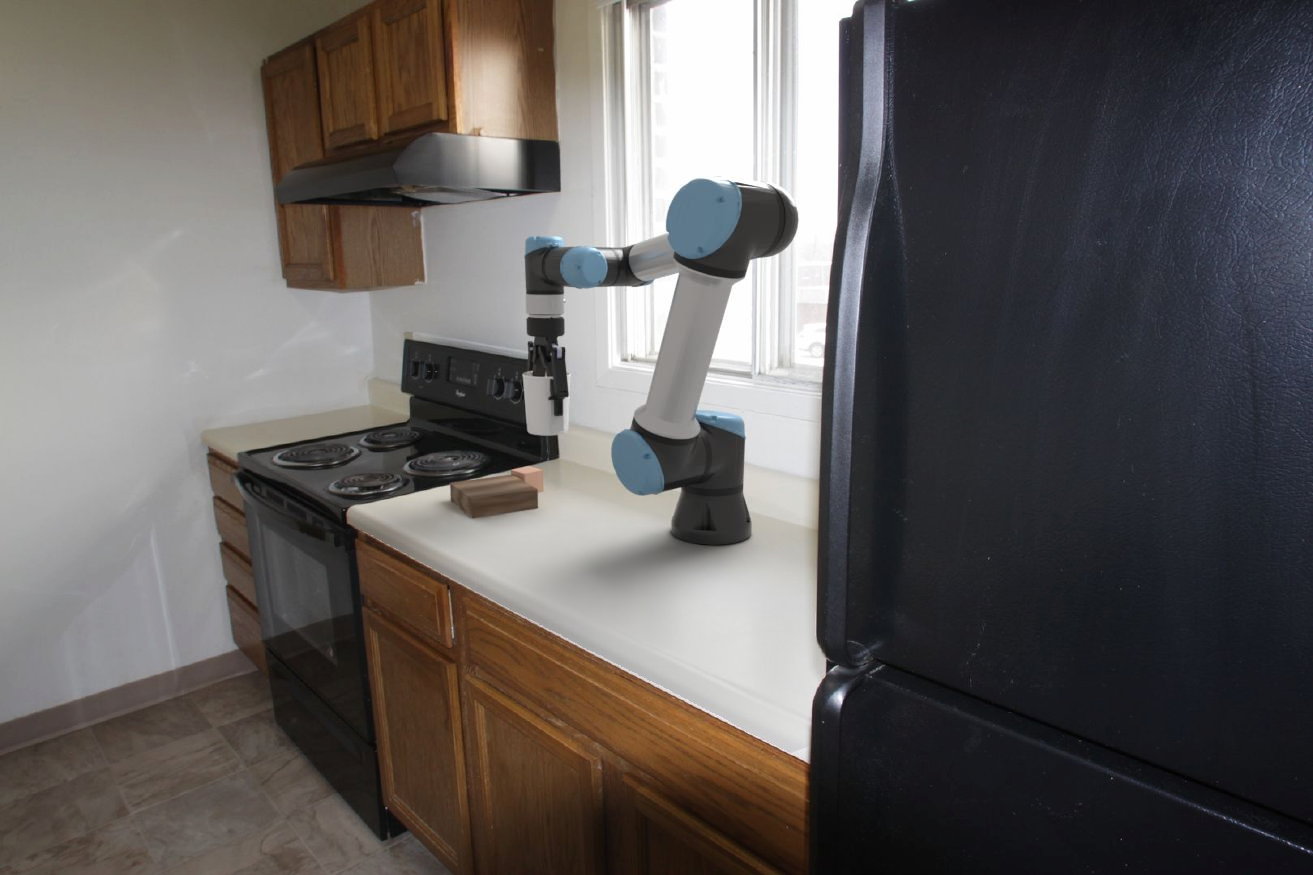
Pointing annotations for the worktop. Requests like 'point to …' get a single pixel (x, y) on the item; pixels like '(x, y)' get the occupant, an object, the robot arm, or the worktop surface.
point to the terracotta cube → (530, 476)
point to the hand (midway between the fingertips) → (547, 426)
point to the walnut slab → (493, 495)
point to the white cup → (542, 404)
